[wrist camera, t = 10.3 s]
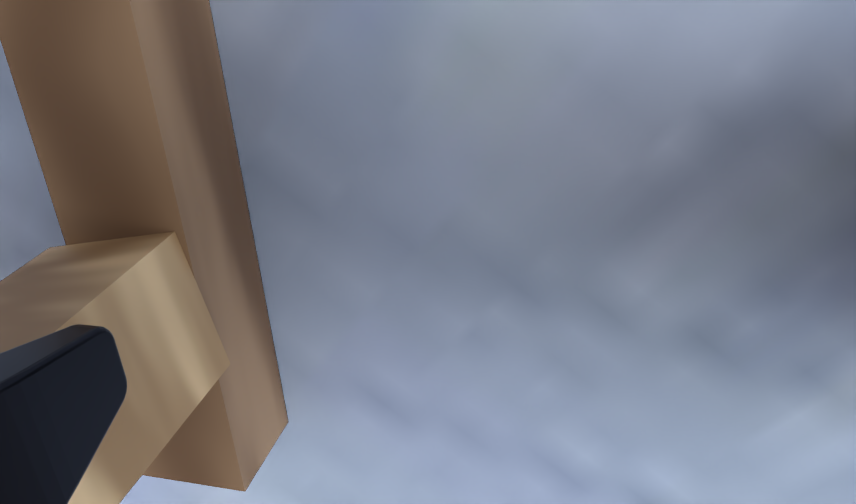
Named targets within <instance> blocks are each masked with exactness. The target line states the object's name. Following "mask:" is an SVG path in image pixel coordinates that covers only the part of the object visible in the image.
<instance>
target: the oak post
mask: <svg viewBox="0 0 856 504" xmlns="http://www.w3.org/2000/svg"><path fill="white" fill-rule="evenodd" d="M77 324H83V325H93V326H102V327H105V328H107V329H108V330H109V331H110V332H111V333H112V334H113V336H114V339H115V342H116V345H117V349H118V352H119V355H120V358H121V362H122V365H123V368H124V371H125V375H126V378H127V393H126V396H125V399H124V401H123V403H122V405H121V407H120V409H119V411H118V412H117V414H116V416H115V418H114V420H113V422H112V424H111V425H110V427H109V429H108V431H107V433H106V435H105V436H104V438H103V440H102V442H101V444H100V446H99V448H98V449H97V451H96V453H95V455H94V457H93V459H92V461H91V462H90V464H89V466H88V468H87V470H86V472H85V473H84V475H83V477H82V479H81V481H80V483H79V485H78V486H77V488H76V490H75V492H74V493H73V495H72V497H71V499H70V500H69V502H68V504H119V503H120V502H121V501H122V500H123V498H124V497H125V496H126V494H127V493H128V492H129V491H130V489H131V488H132V487H133V486H134V484H135V483H136V482H137V481H138V479H139V478H140V477H141V476H142V474H143V473H144V472H145V471H146V469H147V468H148V467H149V466H150V464H151V463H152V462H153V461H154V459H155V458H156V457H157V456H158V454H159V453H160V452H161V451H162V449H163V448H164V447H165V446H166V444H167V443H168V442H169V441H170V439H171V438H172V437H173V435H174V434H175V433H176V432H177V430H178V429H179V428H180V427H181V425H182V424H183V423H184V422H185V420H186V419H187V418H188V417H189V415H190V414H191V413H192V412H193V410H194V409H195V408H196V407H197V405H198V404H199V403H200V402H201V400H202V399H203V398H204V397H205V395H206V394H207V393H208V392H209V390H210V389H211V388H212V387H213V385H214V384H215V383H216V382H217V380H218V379H219V378H220V377H221V375H222V374H223V373H224V371H225V370H226V369H227V368H228V366H229V365H230V361H229V359H228V357H227V354H226V352H225V349H224V347H223V345H222V342H221V340H220V338H219V335H218V333H217V330H216V328H215V326H214V323H213V321H212V319H211V316H210V314H209V311H208V309H207V307H206V304H205V302H204V300H203V297H202V295H201V293H200V290H199V288H198V285H197V283H196V281H195V278H194V276H193V274H192V271H191V269H190V266H189V264H188V262H187V259H186V257H185V255H184V252H183V250H182V247H181V245H180V243H179V240H178V238H177V236H176V233H175V232H167V233H159V234H151V235H143V236H136V237H128V238H120V239H112V240H104V241H96V242H88V243H80V244H73V245H65V246H57V247H50V248H48V249H47V250H45V251H44V252H42V253H41V254H39V255H38V256H36V257H35V258H33V259H32V260H31V261H29V262H28V263H26V264H25V265H23V266H22V267H20V268H19V269H17V270H16V271H15V272H13V273H12V274H10V275H9V276H7V277H6V278H4V279H3V280H1V281H0V353H2V352H5V351H7V350H10V349H12V348H15V347H17V346H20V345H23V344H25V343H28V342H30V341H33V340H36V339H38V338H41V337H43V336H46V335H48V334H51V333H54V332H56V331H59V330H61V329H64V328H66V327H69V326H72V325H77Z"/></svg>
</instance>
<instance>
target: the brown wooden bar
mask: <svg viewBox="0 0 856 504" xmlns="http://www.w3.org/2000/svg"><path fill="white" fill-rule="evenodd" d="M0 40H1V43H2V46H3V49H4V53H5V56H6V59H7V62H8V65H9V68H10V71H11V74H12V78H13V81H14V84H15V87H16V90H17V93H18V96H19V99H20V103H21V106H22V109H23V112H24V115H25V118H26V121H27V124H28V128H29V131H30V134H31V137H32V140H33V143H34V146H35V149H36V153H37V156H38V159H39V162H40V165H41V168H42V171H43V174H44V178H45V181H46V184H47V187H48V190H49V193H50V196H51V199H52V203H53V206H54V209H55V212H56V215H57V218H58V221H59V224H60V228H61V231H62V234H63V237H64V240H65V243H66V245H73V244H80V243H88V242H96V241H104V240H112V239H120V238H128V237H136V236H143V235H151V234H159V233H167V232H175V233H176V236H177V238H178V240H179V243H180V245H181V247H182V250H183V252H184V255H185V257H186V259H187V262H188V264H189V266H190V269H191V271H192V274H193V276H194V278H195V281H196V283H197V285H198V288H199V290H200V293H201V295H202V297H203V300H204V302H205V304H206V307H207V309H208V311H209V314H210V316H211V319H212V321H213V323H214V326H215V328H216V330H217V333H218V335H219V338H220V340H221V342H222V345H223V347H224V349H225V352H226V354H227V357H228V359H229V361H230V365H229V366H228V368H227V369H226V370H225V371H224V373H223V374H222V375H221V377H220V378H219V379H218V380H217V382H216V383H215V384H214V385H213V387H212V388H211V389H210V390H209V392H208V393H207V394H206V395H205V397H204V398H203V399H202V400H201V402H200V403H199V404H198V405H197V407H196V408H195V409H194V410H193V412H192V413H191V414H190V415H189V417H188V418H187V419H186V420H185V422H184V423H183V424H182V425H181V427H180V428H179V429H178V430H177V432H176V433H175V434H174V435H173V437H172V438H171V439H170V441H169V442H168V443H167V444H166V446H165V447H164V448H163V449H162V451H161V452H160V453H159V454H158V456H157V457H156V458H155V459H154V461H153V462H152V463H151V464H150V466H149V467H148V468H147V469H146V471H145V472H144V473H143V474H142V475H146V476H152V477H158V478H164V479H171V480H177V481H183V482H189V483H196V484H202V485H208V486H214V487H220V488H227V489H233V490H239V491H246V489H247V488H248V486H249V484H250V483H251V481H252V479H253V478H254V476H255V475H256V473H257V471H258V470H259V468H260V467H261V465H262V463H263V462H264V460H265V459H266V457H267V455H268V454H269V452H270V450H271V449H272V447H273V446H274V444H275V442H276V441H277V439H278V438H279V436H280V434H281V433H282V431H283V430H284V428H285V426H286V425H287V423H288V418H287V412H286V407H285V402H284V396H283V391H282V386H281V380H280V375H279V370H278V364H277V359H276V354H275V349H274V343H273V338H272V333H271V327H270V322H269V317H268V311H267V306H266V301H265V295H264V290H263V285H262V279H261V274H260V269H259V264H258V258H257V253H256V248H255V242H254V237H253V232H252V226H251V221H250V216H249V210H248V205H247V200H246V195H245V189H244V184H243V179H242V173H241V168H240V163H239V157H238V152H237V147H236V141H235V136H234V131H233V125H232V120H231V115H230V110H229V104H228V99H227V94H226V88H225V83H224V78H223V72H222V67H221V62H220V56H219V51H218V46H217V40H216V35H215V30H214V25H213V19H212V14H211V9H210V3H209V0H0Z"/></svg>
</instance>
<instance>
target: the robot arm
mask: <svg viewBox="0 0 856 504" xmlns="http://www.w3.org/2000/svg"><path fill="white" fill-rule="evenodd" d="M126 393H127V378H126V375H125V371H124V368H123V365H122V362H121V358H120V355H119V352H118V349H117V345H116V342H115V339H114V336H113V334H112V333H111V332H110V331H109V330H108V329H107V328H105V327H102V326H93V325H83V324H77V325H72V326H69V327H66V328H64V329H61V330H59V331H56V332H54V333H51V334H48V335H46V336H43V337H41V338H38V339H36V340H33V341H30V342H28V343H25V344H23V345H20V346H17V347H15V348H12V349H10V350H7V351H5V352H2V353H0V504H68V502H69V500H70V499H71V497H72V495H73V493H74V492H75V490H76V488H77V486H78V485H79V483H80V481H81V479H82V477H83V475H84V473H85V472H86V470H87V468H88V466H89V464H90V462H91V461H92V459H93V457H94V455H95V453H96V451H97V449H98V448H99V446H100V444H101V442H102V440H103V438H104V436H105V435H106V433H107V431H108V429H109V427H110V425H111V424H112V422H113V420H114V418H115V416H116V414H117V412H118V411H119V409H120V407H121V405H122V403H123V401H124V399H125V396H126Z"/></svg>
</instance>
